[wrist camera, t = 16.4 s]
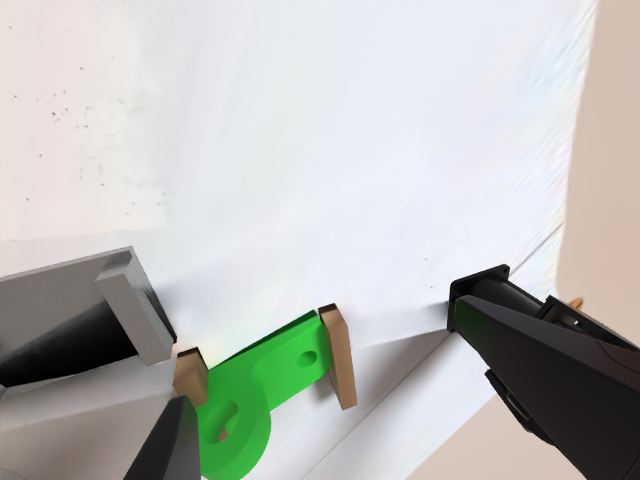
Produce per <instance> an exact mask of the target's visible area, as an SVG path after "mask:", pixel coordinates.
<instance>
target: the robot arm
mask: <svg viewBox="0 0 640 480" xmlns="http://www.w3.org/2000/svg"><path fill="white" fill-rule="evenodd" d="M509 271H510V267H509V266H508V265H506V264H502V265H499V266H496V267H493V268H490V269H487V270H484V271H481V272H478V273H475V274H472V275H469V276H466V277H463V278H460V279H457V280H455V281H453V282H452V283H451V285H450V295H449V306H448V318H447V330H448V331H449V333H455V332H458V333H459V334H460V335H461V336H462V337H463V338H464V339H465V340H466V341H467V342H468V343H469V344H470V345H471V346H472V347H473V348H474V349H475V350H476V351H477V352H478V353H479V355H480V356H481V357H482V359H483V360H484V361H485V363H486V364H487V365H488V366H489V367H490V369H488V370H487V371H486V372H485V373H484V374H485V376H486V377H487V378H488V380H489V381H490V384H491V385H492V386H493V388H494V389H495V390H496V392H497V393H498V395H499V396H500V397H501V399H502V400H503V401H504V403H505V404H506V405H507V407H508V408H509V410H510V411H511V412H512V414H513V415H514V416H515V418H516V419H517V420H518V422H519V423H520V424H521V425H522V427H523V428H524V429H525V430H526V431H527V432H530V433H533V434H535V435H536V436H537V437H539V438H540V439H541V440H543V441H545V442H546V443H548V444H550V445H552V446H555V447H556V448H557V449H558V450H559V451H560V452H561V453H562V454H563V455H564V456H565V457H566V458H567V459H568V460H569V461H570V462H571V463H572V464H573V465H574V466H575V467H576V468H577V469H578V470H579V471H580V472H581V473H582V474H583V476H584V477H585V478H586V479H587V480H640V348H639V347H638V346H636V345H635V344H633V343H632V342H630V341H628V340H627V339H625V338H624V337H622V336H620V335H619V334H618V333H616V332H615V331H613V330H612V329H610V328H608V327H607V326H605V325H604V324H602V323H600V322H599V321H597V320H595V319H594V318H592V317H590V316H588V315H587V314H585V313H583V312H582V311H580V310H578V309H576V308H575V307H573V306H571V305H569V304H567V303H565V302H563V301H561V300H559V299H557V298H555V297H553V296H551V295H549V296H548V297H547V299H546V302H545V303H543V302H541V301H540V300H538V299H537V298H535V297H533V296H532V295H530V294H529V293H527V292H526V291H524V290H522V289H521V288H519V287H518V286H516V285H515V284H513V283H511V282H510V281H508V276H509ZM576 320H577V321H578V323H577V324H576V325H575V324H574V322H576ZM123 480H201V466H200V448H199V430H198V416H197V412H196V409H195V408H194V406H193V404H192V402H191V400H190V399H189V397H188V395H186V394H182V395H179V396H176V397H174V398H172V399H171V400H170V401H169V402H168V404H167V405H166V407H165V409H164V410H163V412H162V414H161V416H160V417H159V419H158V421H157V422H156V424H155V426H154V427H153V429H152V431H151V433H150V434H149V436H148V438H147V439H146V441H145V443H144V444H143V446H142V448H141V450H140V451H139V453H138V455H137V456H136V458H135V460H134V461H133V463H132V465H131V467H130V468H129V470H128V472H127V473H126V475H125V477H124V478H123Z"/></svg>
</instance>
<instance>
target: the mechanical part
mask: <svg viewBox="0 0 640 480" xmlns="http://www.w3.org/2000/svg"><path fill="white" fill-rule="evenodd" d="M330 367H331V360H330V354H329V348H328V342H327V337H326V331H325V328H324V326H323V324H322V322H321V320H320V319H319V317H318V315H317V314H316V312H315V310H314V309H313V310H311V311H310V312H308V313H306V314H304V315H302V316H301V317H299V318H297V319H295V320H294V321H292V322H290V323H288V324H287V325H285V326H283V327H281V328H279V329H278V330H276V331H274V332H272V333H271V334H269V335H267V336H265V337H264V338H262V339H260V340H258V341H256V342H255V343H253V344H251V345H249V346H248V347H246V348H244V349H242V350H241V351H239V352H237V353H236V354H234V355H233V356H231V357H229V358H228V359H226V360H225V361H223V362H221V363H220V364H218V365H216V366H215V367H213V368H212V369H210V370H208V396H207V402H206V403H204V404H202V405H201V406H199V407H197V408H195V409H196V412H197V416H198V430H199V448H200V466H201V475H202V476H204V477H205V478H207V479H209V480H239V479H241V478H243V477H244V476H245V475H246V474H247V473H249V472H250V471H251V470H252V468H253V467H254V466H255V465H256V464H257V462H258V461H259V459H260V458H261V456H262V454H263V452H264V450H265V448H266V446H267V443H268V440H269V436H270V431H271V416H270V412H269V411H271V410H272V409H274V408H275V407H277V406H279V405H280V404H282V403H283V402H285V401H286V400H288V399H289V398H291V397H292V396H294V395H295V394H297V393H298V392H300V391H301V390H303V389H304V388H306V387H307V386H309V385H310V384H312V383H313V382H315V381H317V380H318V379H319V378H321V377H322V376H323V375H324V374H325V373H326V372H327V371H328V370H329V369H330ZM224 426H225V428H226V430H227V432H228V434H229V436H228V437H227V438H225V439H224V440H223V441H221V442H219V436H220V433H221V431H222V429H223V427H224Z"/></svg>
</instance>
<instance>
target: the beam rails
mask: <svg viewBox="0 0 640 480" xmlns="http://www.w3.org/2000/svg"><path fill="white" fill-rule="evenodd" d="M318 310H319V316H320V320H321V322H322V324H323V326H324V328H325V331H326V337H327V342H328V348H329V354H330V360H331V367H330V369H329V371H330V376H331V382H332V385H333V388H334V390H335V393H336V395H337V398H338V400H339V403H340V405H341V408H342V410H345V409H348V408H350V407H353V406H355V405H357V397H356V389H355V381H354V373H353V365H352V357H351V349H350V341H349V333H348V326H347V324H346V322H345V320H344V319H343V317H342V315H341V313H340V312H339V310H338V308H337V306H336V305H335V303H333V304H329V305H326V306H323V307H320V308H318ZM173 387H174V388H175V390H176V392H177V394H178V395H182V394H186V395H188V397H189V399H190V400H191V402H192V404H193V406H194V408H197V407H199V406H201V405H202V404H204V403H206V402H207V396H208V368H207V366H206V364H205V362H204V359H203V357H202V355H201V353H200V351H199V349H198V347H195V348H192V349H189V350H186V351H183V352H180V353H178V354H177V361H176V368H175V374H174V381H173ZM228 436H229V434H228V432H227V430H226V428H225V426H224V427H223V429H222V431H221V433H220V436H219V442H221V441H223V440H224V439H225V438H227V437H228Z"/></svg>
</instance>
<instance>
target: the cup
mask: <svg viewBox="0 0 640 480" xmlns="http://www.w3.org/2000/svg"><path fill="white" fill-rule="evenodd" d="M0 480H25V479H23V478H22V477H20V476H18V475H16V474H15V473H13V472H11V471H8V470H2V469H0Z"/></svg>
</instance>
